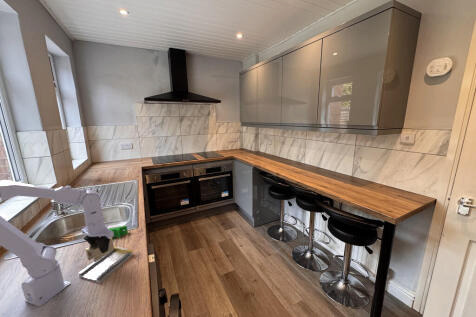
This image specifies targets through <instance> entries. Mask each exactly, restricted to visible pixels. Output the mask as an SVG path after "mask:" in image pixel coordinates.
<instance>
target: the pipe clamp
mask: <svg viewBox="0 0 476 317" xmlns="http://www.w3.org/2000/svg"><path fill="white" fill-rule="evenodd" d="M108 229H109V230H110V231H113V233H114V236H113V237H112V239H113V238H118V239H120V238H121V237H122V236H124V235H128V234H129V232H128V227H127V225H123V226H121V225H120V226H117V227H113V228H108ZM123 234H124V235H123Z"/></svg>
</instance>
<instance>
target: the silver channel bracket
mask: <svg viewBox="0 0 476 317" xmlns="http://www.w3.org/2000/svg"><path fill="white" fill-rule="evenodd" d="M132 256H134V252H133V249H131V248H127V247H126V248H125V247H121V246H116V245H114V249H113V250H112V251H110V252H109V253H107V254H106V255H105V256H103V257H102V258H101V259H99V260H98V261H97V262H94V261H93V262H91V263H90V264H89V265H87V266H86V267H85V268H83V269H82V270H80V271H79V272H78V273H77V274H78V278H80V279H84V280H86V281H87V280H88V281H89V282H90V281H91V282H94V283H97V284H101V283H102V282H103V281H104V280H106V278H107V277H110V276H111V274H113V273H114V272H115V271H116V270H117V269H118V268H120V267H121V266H122V265H123V264H124V263H125V262H126V261H128V260H129V259H130V258H131V257H132Z"/></svg>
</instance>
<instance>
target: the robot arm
mask: <svg viewBox="0 0 476 317" xmlns="http://www.w3.org/2000/svg"><path fill="white" fill-rule="evenodd" d="M15 197H26V198H27V197H28V198H29V197H30V198H40V199H41V198H42V199H50V200H52V201H54V202H55V203H56V204H64V205H72V206H81V207H82V208H83V216H84V222H85V227H82V229H81V234H83V235H85V234H86V236H84V237H83V240H84V241H86V243H87V244H89V247H90V246H91V245H93V244H94V243H96V242H97V243H98V244H99V246H100V249H101V251H102V253H105V252H107V251H108V248H109V242H110V239H111V238H112V237H113V236H114V233H113V231H110V230H109V229H110V228H108V227H109V225H106V223H105V218H104V213H103V212H104V211H103V208H102V205H101V204H102V203H101V201H102V198H101V196H100V193H99V192H98V191H97V190H95V189H92V188H89V189H87V188H83V189H80V188H74V187H72V185H66V186H60V187H57V188H53V187H51V188H50V187H46V186H40V185H35V184H30V183H29V184H28V183H25V182H24V183H23V182H19V181H13V180H9V179H2V180H0V199H1V201H6V200H10V199H12V198H15ZM113 238H114V237H113ZM113 238H112V239H113ZM0 246H1V247H2V248H4V249H5V250H7V251H8V252H10V253H11V254H13V255H15V257H17V258H19V261H20V263H21V266H22V267H23V268H25V269H26V271H27V274H28V275H29V277H27V279H25V280H24V281H23V282H22V283H21V285H20V286H21V289H22V293H23V295H24V302H26V303H29V304H31V305H34V306H36V307H41V306H43V305H44V304H46V303H47V302H48V301H49V300H51V299H53V298H54V297H55V296H56V295H57V294H59V293H61V291H63V290H64V289H66V288H67V287H68V286H70V285H71V282H70V281H68V280H64V277H63V276H64V275H63V274H62V269H61V265H60V261H58V260H57V259H56V255H57V251H58V250H57V249H56V248H55V247H54V246H52V245H46V244H45V243H43V242H37V241H35V240H34V239H32V238H31V237H30V236H28V235H27V234H26V233H24V232H23V231H21V230H20V229H19V228H17V227H16V226H15V225H13V224H12V223H10V222H9V221H8V220H6V219H5V218H4V217H2V216H1V215H0Z"/></svg>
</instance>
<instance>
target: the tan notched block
mask: <svg viewBox="0 0 476 317" xmlns="http://www.w3.org/2000/svg"><path fill="white" fill-rule="evenodd" d="M114 246H115V245H114V241H113V238H111V239H110V242H109V248H108V251H107V252H105V253H102V251H101V249H100V246H99V244H98V243H97V242H96V243H94V244H93V245H91V246H90V245H89V246H88V247H87V248H85V253H86V257H87V261H90V262H91V260H93V262H97V261H98V260H99V259H101V258H102V257H103V256H105V255H106V254H107V253H109V252H110V251H112V250H113V249H114Z"/></svg>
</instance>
